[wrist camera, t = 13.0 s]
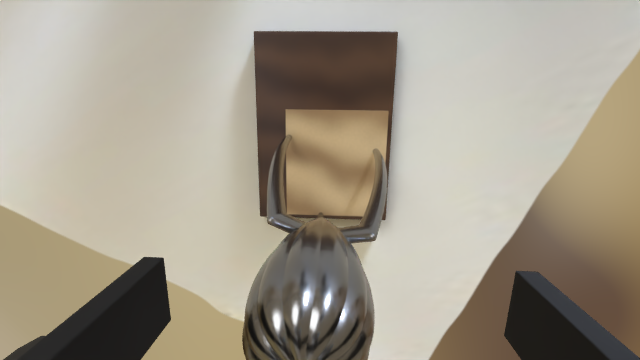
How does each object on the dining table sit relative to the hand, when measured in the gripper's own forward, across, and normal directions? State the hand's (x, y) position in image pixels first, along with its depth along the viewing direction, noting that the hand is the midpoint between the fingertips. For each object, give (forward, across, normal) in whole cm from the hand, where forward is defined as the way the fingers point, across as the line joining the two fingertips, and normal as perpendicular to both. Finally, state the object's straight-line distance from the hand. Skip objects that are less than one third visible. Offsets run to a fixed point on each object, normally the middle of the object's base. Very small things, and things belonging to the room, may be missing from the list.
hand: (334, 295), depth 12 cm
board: (+29, -2, +4) cm, 29 cm away
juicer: (+27, 0, 0) cm, 27 cm away
